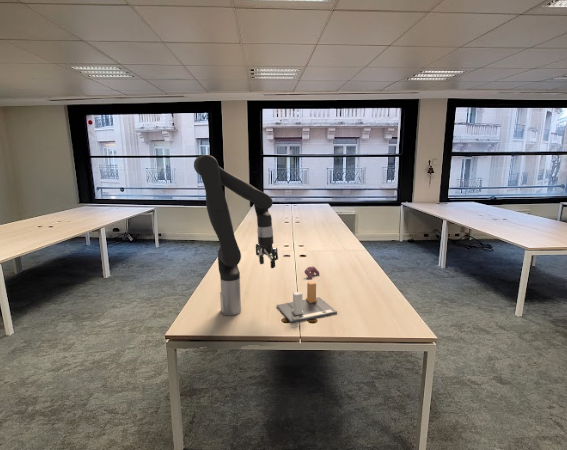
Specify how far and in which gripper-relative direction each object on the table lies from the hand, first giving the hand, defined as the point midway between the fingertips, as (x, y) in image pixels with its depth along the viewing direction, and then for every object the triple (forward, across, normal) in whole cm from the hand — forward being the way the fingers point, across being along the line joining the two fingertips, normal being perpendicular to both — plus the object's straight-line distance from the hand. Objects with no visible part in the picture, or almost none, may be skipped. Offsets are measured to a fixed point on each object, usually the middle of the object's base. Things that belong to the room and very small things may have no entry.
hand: (267, 265), depth 164 cm
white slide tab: (+19, +19, +1) cm, 27 cm away
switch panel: (+21, +18, +8) cm, 29 cm away
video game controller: (+23, -11, +44) cm, 51 cm away
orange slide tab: (+20, +15, +15) cm, 29 cm away
